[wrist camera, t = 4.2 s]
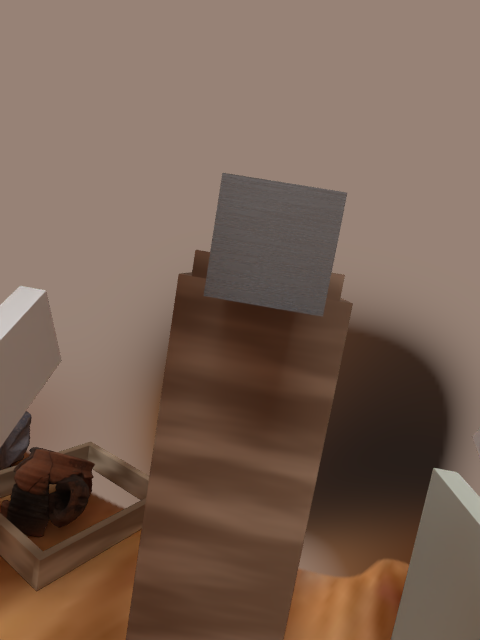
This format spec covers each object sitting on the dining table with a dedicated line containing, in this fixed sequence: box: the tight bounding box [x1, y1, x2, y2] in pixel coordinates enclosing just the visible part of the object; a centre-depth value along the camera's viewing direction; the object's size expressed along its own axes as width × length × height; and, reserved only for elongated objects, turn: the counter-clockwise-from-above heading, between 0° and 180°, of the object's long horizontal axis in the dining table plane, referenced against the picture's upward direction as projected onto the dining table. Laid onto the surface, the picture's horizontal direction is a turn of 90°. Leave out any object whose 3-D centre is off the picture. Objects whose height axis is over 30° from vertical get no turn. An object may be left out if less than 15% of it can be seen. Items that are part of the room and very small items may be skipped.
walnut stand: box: [126, 250, 353, 640], centre depth 34 cm, size 16×10×32 cm, turn 176°
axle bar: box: [204, 173, 347, 317], centre depth 26 cm, size 26×4×4 cm, turn 176°
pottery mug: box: [0, 447, 95, 537], centre depth 47 cm, size 12×10×8 cm
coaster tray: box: [0, 442, 149, 591], centre depth 48 cm, size 16×17×3 cm
